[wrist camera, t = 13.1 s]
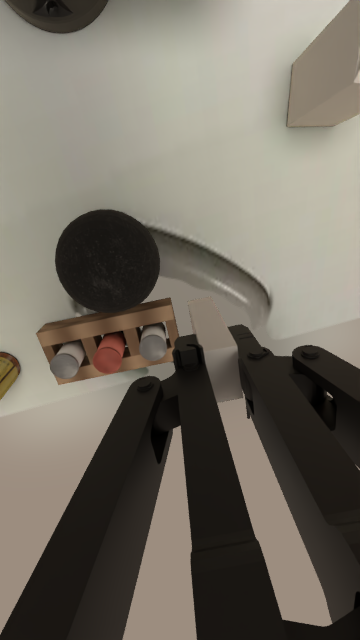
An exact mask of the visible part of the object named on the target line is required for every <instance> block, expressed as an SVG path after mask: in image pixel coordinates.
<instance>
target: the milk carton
mask: <svg viewBox="0 0 360 640" xmlns="http://www.w3.org/2000/svg"><path fill="white" fill-rule="evenodd" d="M358 114H360V0H350V1H349V2H348V3H347V4H346V5H345V7H344V8H343V9H342V10H341V11H340V12H339V13H338V14H337V15H336V16H335V18H334V19H333V20H332V21H331V22H330V23H329V24H328V25H327V26H326V27H325V29H324V30H323V31H322V32H321V33H320V34H319V35H318V36H317V37H316V39H315V40H314V41H313V42H312V43H311V44H310V45H309V46H308V47H307V48H306V50H305V51H304V52H303V53H302V54H301V55H300V56H299V57H298V58H297V59H296V61H295V62H294V63H293V67H292V78H291V88H290V99H289V110H288V120H287V127H307V126H335V125H337V124H339V123H342V122H344V121H346V120H348V119H350V118H352V117H354V116H356V115H358Z"/></svg>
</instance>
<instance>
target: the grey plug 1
mask: <svg viewBox="0 0 360 640" xmlns="http://www.w3.org/2000/svg"><path fill="white" fill-rule="evenodd" d="M85 355H86V351H85V348H84V346H83V343H82V341H81V339H78V340H74V341H69V342H65V343H64V345H63V346H62V348H61V349H60V350H59V352H58V353H57V355H56V356H55V357H54V358H53V359H52V360H51V362H50V370H51V372H52V373H53V374H54V375H55V376H56V377H58V378H61V379H70V378H72V377H74V376H75V375H76V374H77V372H78V370H79V367H80V365H81V363H82V361H83V359H84V357H85Z"/></svg>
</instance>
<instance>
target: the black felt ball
mask: <svg viewBox="0 0 360 640" xmlns="http://www.w3.org/2000/svg"><path fill="white" fill-rule="evenodd" d="M55 264H56V271H57V274H58V277H59V280H60V282H61V284H62V285H63V287H64V289H65V290H66V291H67V293H68V294H69V295H70V296H71V297H72V298H73V299H74V300H75V301H77V302H78V303H79V304H81V305H83V306H84V307H86V308H88V309H91V310H94V311H97V312H102V313H117V312H122V311H126V310H128V309H131V308H134V307H135V306H137V305H138V304H140V303H141V302H143V301H144V299H146V298H147V297H148V296H149V294H150V293H151V291H152V290H153V288H154V286H155V284H156V281H157V279H158V275H159V270H160V258H159V253H158V248H157V246H156V244H155V241H154V239H153V238H152V236H151V234H150V233H149V231H148V230H147V229H146V228H145V227H144V226H143V225H142V224H141V223H140V222H139V221H137V220H136V219H134V218H133V217H131V216H129V215H127V214H125V213H122V212H119V211H114V210H96V211H90V212H88V213H86V214H83V215H81V216H79V217H78V218H76V219H75V220H74V221H72V222H71V223H70V224H69V225H68V226H67V227H66V228H65V230H64V231H63V233H62V235H61V236H60V238H59V241H58V244H57V248H56V256H55Z"/></svg>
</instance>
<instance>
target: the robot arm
mask: <svg viewBox="0 0 360 640" xmlns="http://www.w3.org/2000/svg"><path fill="white" fill-rule="evenodd" d="M107 1H108V0H6V2H7V3H8V4H9V5H10V6H11V7H12V9H13V10H14V11H15V12H17V13H18V14H19V15H20V16H21V17H22V18H24V19H25V20H26V21H28V22H29V23H31V24H33V25H34V26H36V27H39V28H41V29H44V30H47V31H51V32H57V33H66V32H72V31H76V30H79V29H81V28H83V27H85V26H87V25H88V24H89V23H91V22H92V21H93V20H94V19H95V18H96V17H97V16H98V15H99V14H100V13H101V11H102V10H103V8H104V7H105V5H106V3H107ZM188 306H189V312H190V317H191V323H192V328H193V334H192V335H187V336H182V337H177V339H176V340H175V342H174V346H175V348H174V349H173V351H172V356H173V361H174V365H175V370H176V371H175V373H174V374H173V375H172V376H170V377H169V378H167V379H165V380H163V381H160V380H159V378H157V377H154V376H147V377H142V378H139V379H137V380H136V381H134V382H133V383H132V384H131V386H130V387H129V389H128V391H127V393H126V395H125V396H124V399H123V400H122V402H121V404H120V406H119V408H118V410H117V412H116V414H115V416H114V418H113V419H112V422H111V423H110V425H109V427H108V429H107V431H106V433H105V435H104V437H103V439H102V441H101V443H100V445H99V446H98V448H97V450H96V452H95V454H94V456H93V458H92V460H91V462H90V464H89V466H88V467H87V469H86V471H85V473H84V475H83V477H82V479H81V481H80V483H79V485H78V487H77V489H76V490H75V492H74V494H73V496H72V498H71V500H70V502H69V504H68V506H67V508H66V510H65V512H64V513H63V515H62V517H61V519H60V521H59V523H58V525H57V527H56V529H55V531H54V533H53V535H52V537H51V539H50V541H49V542H48V544H47V546H46V548H45V550H44V552H43V554H42V556H41V558H40V560H39V561H38V563H37V565H36V567H35V569H34V571H33V573H32V575H31V577H30V579H29V581H28V583H27V584H26V586H25V588H24V590H23V592H22V594H21V596H20V598H19V600H18V602H17V604H16V606H15V608H14V609H13V611H12V614H11V615H10V617H9V619H8V621H7V623H6V625H5V627H4V629H3V630H2V633H1V635H0V640H122V638H123V635H124V631H125V627H126V623H127V618H128V614H129V610H130V606H131V602H132V598H133V594H134V590H135V586H136V582H137V578H138V574H139V569H140V565H141V561H142V557H143V553H144V549H145V545H146V541H147V537H148V533H149V529H150V525H151V520H152V516H153V512H154V508H155V504H156V500H157V496H158V492H159V488H160V483H161V479H162V476H163V471H164V467H165V463H166V459H167V455H168V451H169V447H170V442H171V439H172V434H173V428H176V427H178V426H180V425H181V433H182V444H183V454H184V465H185V476H186V487H187V497H188V508H189V519H190V528H191V540H192V552H191V575H192V586H193V598H194V610H195V622H196V633H197V640H360V470H359V469H358V468H357V467H356V465H357V466H358V467H359V468H360V369H358V368H357V367H355V366H353V365H351V364H350V363H348V362H346V361H344V360H342V359H341V358H339V357H337V356H335V355H334V354H332V353H330V352H328V351H326V350H325V349H323V348H320V347H318V346H312V345H305V346H300V347H297V348H296V349H294V351H293V352H292V356H274V354H273V353H272V352H271V351H270V350H269V349H267V348H265V347H261V346H260V344H259V343H258V341H257V340H256V338H255V337H254V336H253V334H252V333H251V331H250V330H249V329H248V327H246V326H244V325H242V324H241V325H235V326H231V327H227V326H226V324H225V322H224V320H223V318H222V316H221V314H220V313H219V311H218V309H217V307H216V305H215V303H214V302H213V300H212V298H211V297H206V298H201V299H196V300H191V301H188ZM242 390H243V392H244V394H245V400H246V409H247V418H248V419H249V418H250V416H251V418H252V421H253V423H254V425H255V428H256V430H257V432H258V435H259V437H260V440H261V442H262V444H263V447H264V449H265V452H266V454H267V456H268V459H269V461H270V464H271V466H272V468H273V471H274V473H275V476H276V478H277V480H278V483H279V485H280V487H281V490H282V492H283V495H284V497H285V499H286V502H287V504H288V507H289V509H290V511H291V514H292V516H293V519H294V521H295V523H296V526H297V528H298V530H299V533H300V535H301V537H302V540H303V542H304V545H305V547H306V549H307V552H308V554H309V556H310V559H311V561H312V564H313V566H314V569H315V571H316V573H317V576H318V578H319V581H320V583H321V586H322V588H323V591H324V594H325V597H326V601H327V605H328V609H329V613H330V617H331V620H332V623H333V624H331V625H329V626H325V627H321V626H315V625H309V624H304V623H298V622H292V621H286V620H282V617H281V614H280V610H279V607H278V603H277V600H276V597H275V593H274V590H273V586H272V583H271V580H270V576H269V573H268V569H267V566H266V563H265V559H264V556H263V553H262V550H261V547H260V544H259V542H258V540H257V539H256V537H255V534H254V531H253V528H252V524H251V521H250V517H249V514H248V510H247V507H246V503H245V500H244V496H243V493H242V489H241V486H240V482H239V479H238V475H237V472H236V469H235V465H234V461H233V458H232V454H231V451H230V448H229V444H228V440H227V437H226V433H225V430H224V426H223V423H222V420H221V416H220V412H219V409H218V405H217V403H218V402H224V401H229V400H234V399H239V398H243V392H242ZM327 392H328V393H329V394H331V395H332V397H333V398H331V397H330V396H328V395H327Z"/></svg>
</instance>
